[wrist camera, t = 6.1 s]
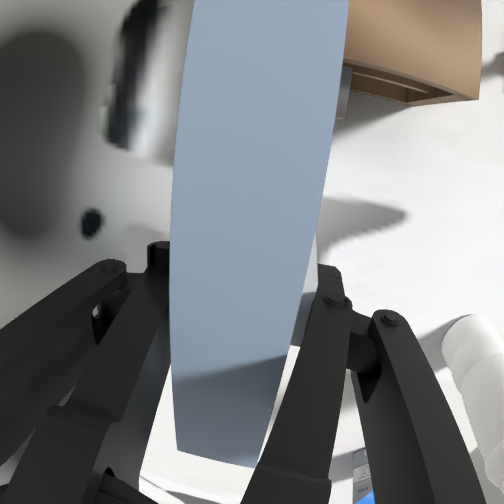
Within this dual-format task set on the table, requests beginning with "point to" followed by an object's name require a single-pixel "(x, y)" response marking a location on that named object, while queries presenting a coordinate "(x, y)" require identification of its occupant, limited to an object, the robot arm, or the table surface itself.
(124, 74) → the table surface
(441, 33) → the cabinet
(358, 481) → the label tape box
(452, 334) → the water bottle
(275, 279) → the door
